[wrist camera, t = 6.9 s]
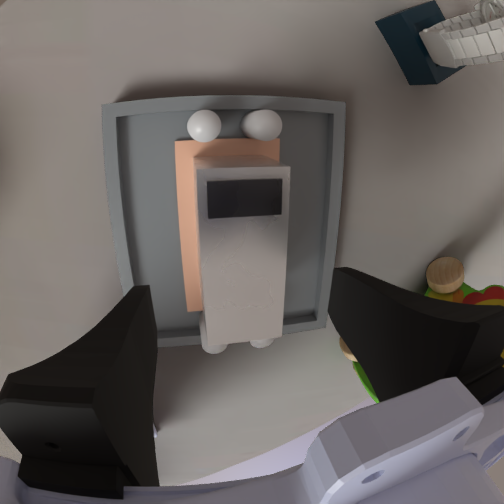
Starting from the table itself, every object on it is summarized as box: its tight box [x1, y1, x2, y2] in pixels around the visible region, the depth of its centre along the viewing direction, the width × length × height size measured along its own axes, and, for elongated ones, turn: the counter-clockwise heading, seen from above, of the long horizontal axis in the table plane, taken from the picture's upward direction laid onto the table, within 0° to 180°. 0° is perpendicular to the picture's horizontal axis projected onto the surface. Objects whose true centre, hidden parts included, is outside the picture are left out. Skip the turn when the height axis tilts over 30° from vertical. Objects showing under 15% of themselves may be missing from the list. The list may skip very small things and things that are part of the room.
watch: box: [375, 0, 504, 85], centre depth 13 cm, size 6×8×11 cm
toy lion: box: [339, 257, 504, 403], centre depth 20 cm, size 16×5×15 cm, turn 121°
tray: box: [102, 95, 346, 354], centre depth 19 cm, size 16×14×4 cm
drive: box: [193, 155, 290, 346], centre depth 17 cm, size 9×4×5 cm, turn 179°
